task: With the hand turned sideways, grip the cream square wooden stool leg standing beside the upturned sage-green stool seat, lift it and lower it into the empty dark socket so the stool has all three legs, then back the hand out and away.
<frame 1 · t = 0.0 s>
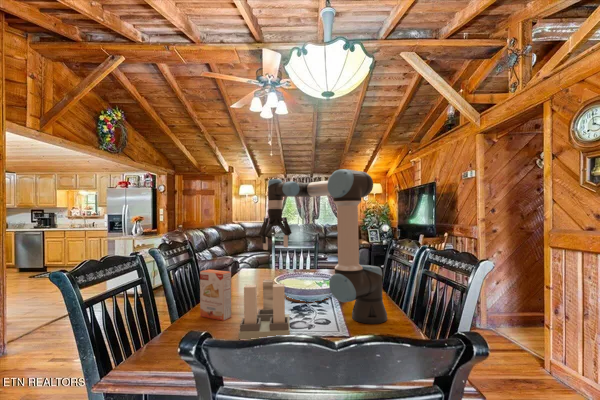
hand: (275, 248, 167), 28 cm above the table, tool pointing down, fingers open, 13 cm apart
trivet: (307, 297, 176), on the table
stool seat: (266, 330, 127), on the table
cracker box: (215, 317, 144), on the table
loose stool leg: (268, 315, 145), on the table
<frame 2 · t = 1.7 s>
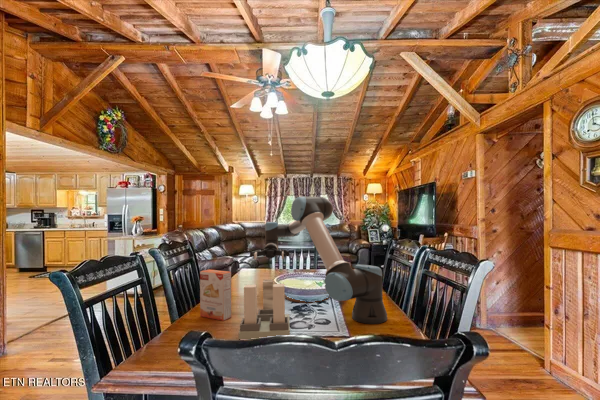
hand: (268, 256, 155), 26 cm above the table, tool horizontal, fingers open, 13 cm apart
nothing on the table moved.
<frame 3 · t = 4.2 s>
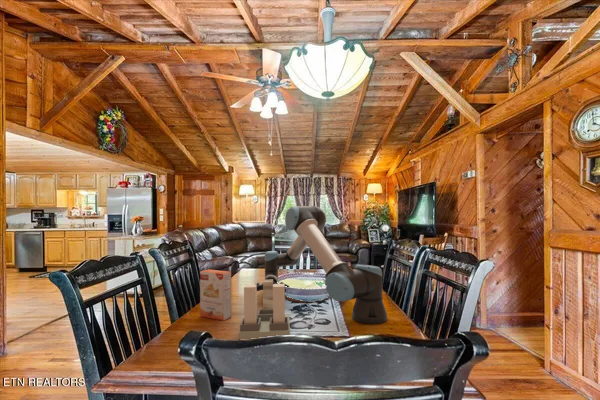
hand: (268, 292, 151), 9 cm above the table, tool horizontal, fingers open, 13 cm apart
nothing on the table moved.
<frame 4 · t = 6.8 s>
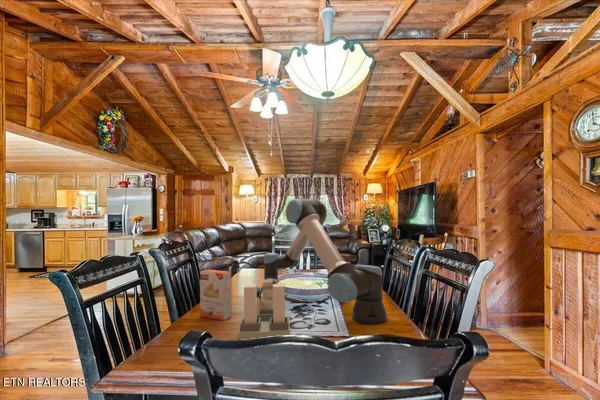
hand: (267, 299, 140), 9 cm above the table, tool horizontal, fingers closed on loose stool leg, 4 cm apart
loose stool leg: (268, 315, 145), on the table, touching gripper
everything else where it was.
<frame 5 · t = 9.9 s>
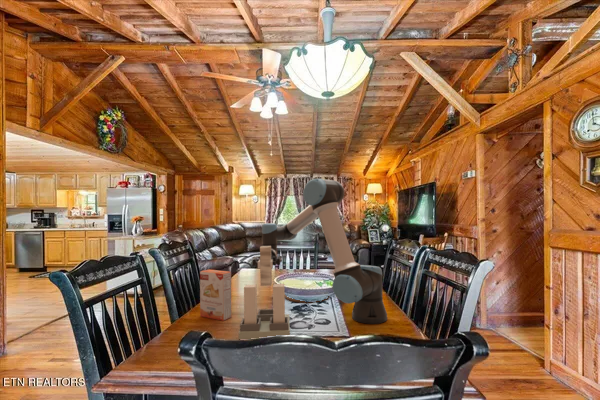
hand: (264, 265, 129), 26 cm above the table, tool horizontal, fingers closed on loose stool leg, 4 cm apart
loose stool leg: (266, 284, 134), point 17 cm above the table, touching gripper
everything else where it was.
when the fingers open (13 cm above the table, at t = 13.5 s): loose stool leg stays where it is, resting on stool seat.
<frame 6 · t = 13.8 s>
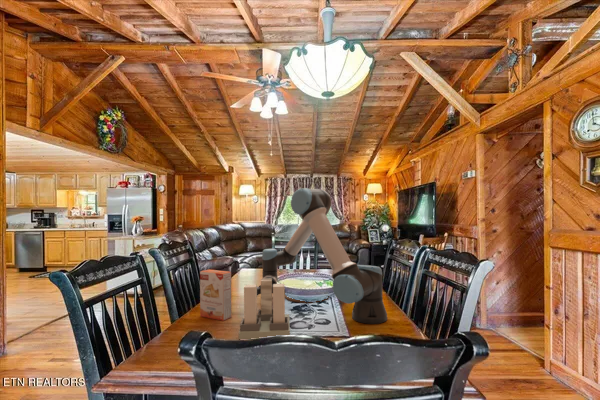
hand: (265, 297, 128), 13 cm above the table, tool horizontal, fingers open, 8 cm apart
loose stool leg: (266, 317, 133), point 3 cm above the table, touching stool seat
everything else where it was.
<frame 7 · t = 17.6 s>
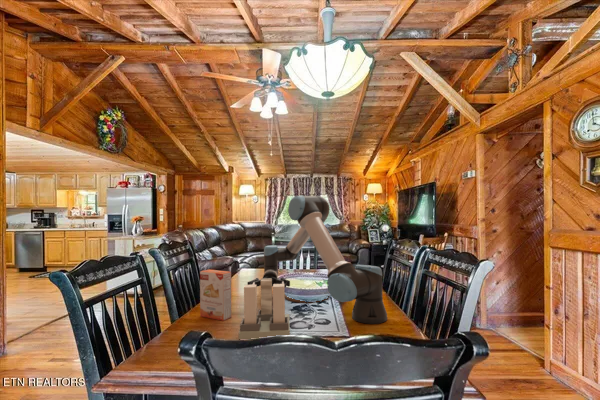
hand: (267, 288, 143), 13 cm above the table, tool horizontal, fingers open, 13 cm apart
nothing on the table moved.
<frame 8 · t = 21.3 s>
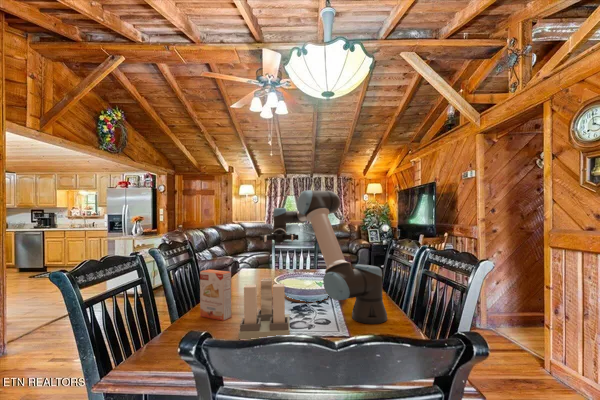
hand: (278, 239, 157), 34 cm above the table, tool horizontal, fingers open, 13 cm apart
nothing on the table moved.
at the end: loose stool leg 0.1 cm from the target spot on the stool seat, point 3.0 cm above the stool seat's base; loose stool leg tilted 0°; the gripper is holding nothing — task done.
